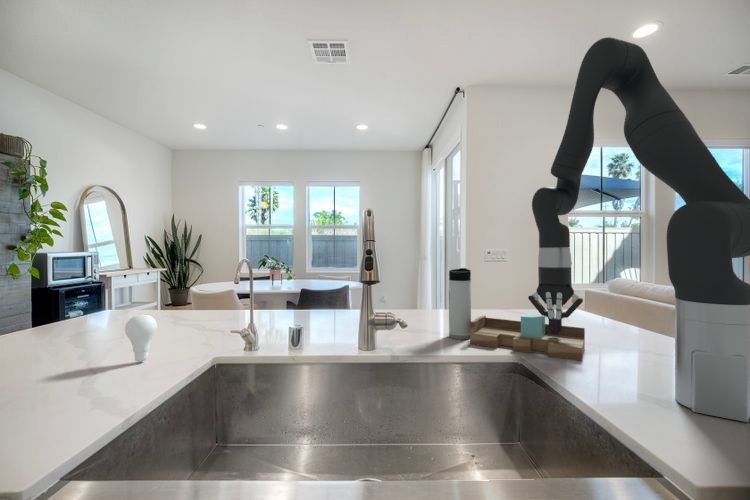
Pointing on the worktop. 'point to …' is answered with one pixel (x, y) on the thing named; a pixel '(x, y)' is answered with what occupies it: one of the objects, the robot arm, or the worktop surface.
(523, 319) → the teal block
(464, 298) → the travel mug
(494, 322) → the walnut tray
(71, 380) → the worktop surface
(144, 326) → the lightbulb
